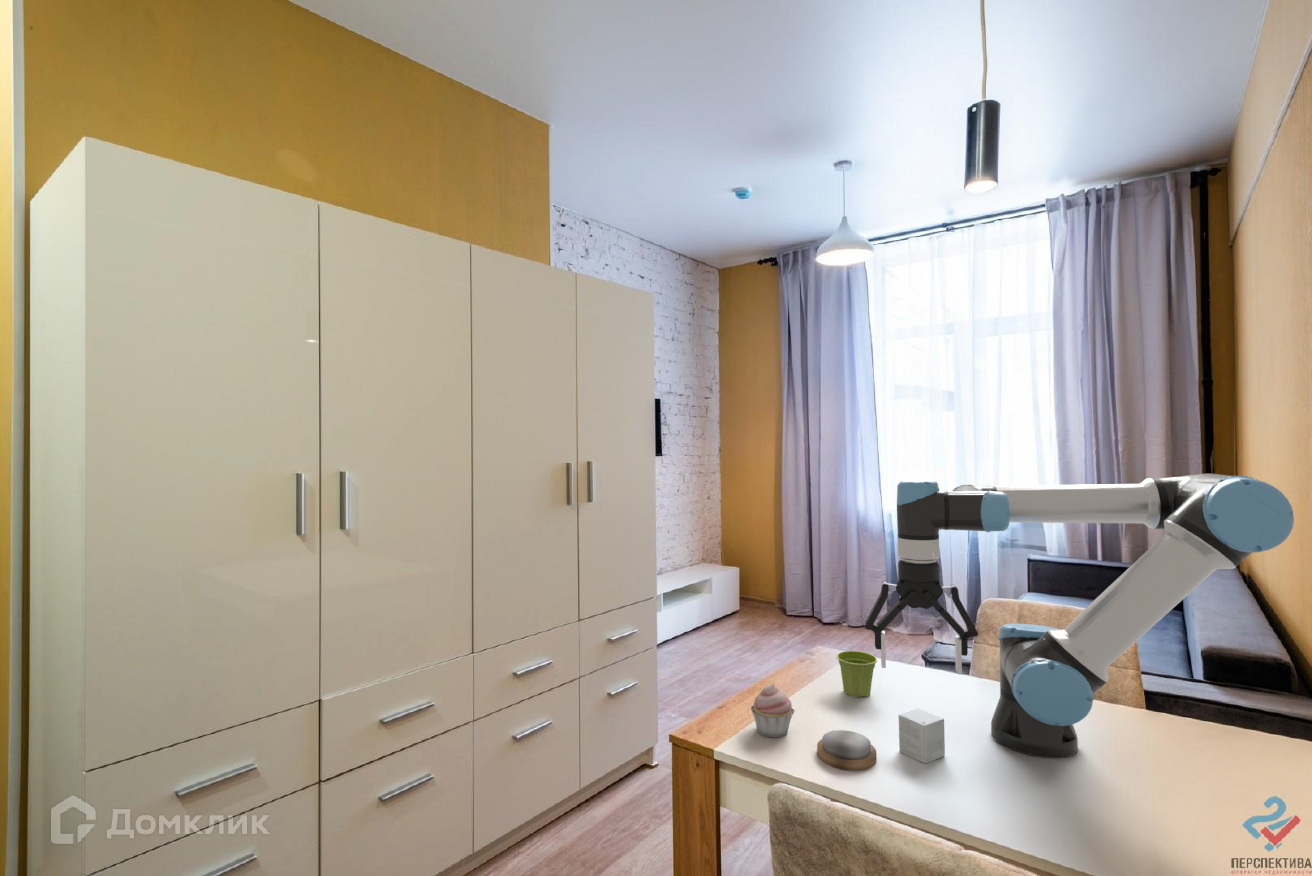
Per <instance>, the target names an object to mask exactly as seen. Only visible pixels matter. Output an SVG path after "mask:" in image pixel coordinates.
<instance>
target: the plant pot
mask: <svg viewBox="0 0 1312 876" xmlns="http://www.w3.org/2000/svg"><path fill="white" fill-rule="evenodd" d="M836 660H838V663H839V667H840V673H841V679H842V688H843V692H844V693H845V695H848V696H849V697H854V698H861V697H865V698H866V697H870V695H871V691H872V683H873V674H874V669H875V667H876V663H877V662H878V657H876V656H875V655H874V654H871V653H868V652H865V651H861V650H845V651H840V652H838V653H837V654H836Z"/></svg>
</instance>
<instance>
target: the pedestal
mask: <svg viewBox="0 0 1312 876" xmlns="http://www.w3.org/2000/svg"><path fill="white" fill-rule="evenodd" d="M816 750H817V751H816V753H817V758H818V759H819V760H820V761H821V762H822V763H824V764H825V765H827V766H829V767H832V768H835V769H837V770H838V769H839V770H844V771H853V772H857V771H858V772H859V771H865V770H869V769H871V768H873V767H874V766H876V763H877V749H876V748H875V746H873V744H872V743H871V740H870V739H869V738H868V737H867V736H865V735H863V734H861V733H858V732H855V731H852V730H846V729H845V730H843V729H840V730H831V731H827V732H826V733H824V734H823V736H822V737H821V739H820V740H819V741H818V742H817V744H816Z"/></svg>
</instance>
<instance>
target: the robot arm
mask: <svg viewBox="0 0 1312 876" xmlns="http://www.w3.org/2000/svg"><path fill="white" fill-rule="evenodd" d="M896 488H897V489H896V519H897V520H896V521H897V522H896V523H897V557H899V560H897V577H898V578H897V579H898V580H897V583H896V584H895V583H894V584H893V583H888V582H887V581H885V580H884V581H882V582H881V588H880V593H879V595H878V597H877V599H876V600H875V602H874V604H873V607H872V609H871V610H870V612H869V614H868V616H867V618H866V620H865V622H864V626H865V630H867V631H871V632H872V633H874V648H875V650H880V659H881V660H880V661H881V662H880V663H881V664H880V665H881V669H887V667H886V666H887V665H886V663H887V662H886V661H887V660H886V659H887V658H886V631H885V629H886V627H887V626H888V625H889V624H890V623H892V621H893V620H894V619H895V618H896V617H897V616H898V615H899V614H900V613H901V612H902V611H903V610H904V609H905V608H906V607H907V606H908V607H910V608H911V609H918V608H921V609H924V610H929V609H930V608H932V607H933V608H934V609H935V611H937V612H938V614H940V615H941V617H942V618H943V620H944V621H946V622H947V623H948V625H949V626H950V627H951V628H952V629H953V630H954V631H955V632H956V634H957V635H954V656H955V657H954V659H955V660H954V661H955V666H954V667H955V671H956V673H957V675H962V674H963V667H962V665H963V661H962V657H963V656H965V657H966V656H967V655H968V652H969V651H968V649H969V648H968V647H969V645H968V641H969V639H970V638H976V637H978V635H979V631H978V630H977V628H976V627H975V625H974V623H973V621H972V620H971V617H970V615H969V614H968V612H967V610H966V608H965V606H964V605H963V603H962V601H961V599H960V594H959V593H960V592H959V589H958V588H957V585H955V584H950V585H946V586H945V585H944V586H942V585H941V574H940V573H941V569H940V568H941V567H940V566H941V565H940V562H939V561H938V560H939V559H940V530H944V531H949V530H952V531H969V532H970V531H972V532H973V531H976V532H986V533H990V532H1005V531H1006V530H1008V528H1009V527H1010V523H1034V524H1035V523H1036V524H1037V523H1040V524H1041V523H1045V524H1046V523H1048V524H1049V523H1051V524H1053V523H1055V524H1058V523H1059V524H1060V523H1061V524H1064V523H1065V524H1143V525H1145V526H1146V527H1147V528H1149V529H1152V530H1161V529H1162V530H1164V535H1162V536H1161V538H1159V539H1158V540H1157V541H1156V542H1155V543H1154V544H1153V545H1151V546H1150V548H1148V549H1147V550H1145V552H1144V553H1143V554H1142V555H1141V556H1140V557H1139V558H1138V559H1137V560H1136V561H1135V562H1134V563H1133V564H1131V566H1129V567H1128V568H1127V569H1126V570H1125V571H1124V572H1123V573H1122V574H1121V575H1120V576H1118V577H1117V578H1116V579H1115V580H1114V581H1113V582H1112V583H1111V584H1110V585H1109V586H1108V587H1107V588H1106V589H1104V591H1103V592H1101V594H1099V595H1098V596H1097V597H1096V598H1095V599H1094V600H1093V601H1092V602H1091V603H1089V605H1088V606H1086V608H1085V609H1083V611H1081V612H1080V613H1079V614H1078V615H1077V616H1076V617H1075V618H1073V620H1072V621H1071V622H1069V623H1068V624H1067V625H1066V626H1065V627H1064V628H1062V629H1059V628H1056V627H1052V626H1047V625H1046V626H1045V625H1039V624H1030V623H1029V624H1028V623H1006V624H1002V625H1001V626H1000V628H999V636H998V641H999V689H1000V690H999V691H1000V695H999V699H998V702H997V704H996V707H995V710H994V712H993V715H992V718H991V722H990V729H991V730H990V731H991V732H990V733H991V736H992V737H993V739H994V740H996V741H997V742H998V743H1000V744H1001V745H1003V746H1005V747H1006V748H1009V749H1011V750H1012V751H1013V750H1014V751H1017V752H1020V753H1023V754H1026V755H1031V756H1035V757H1040V758H1053V759H1055V758H1058V759H1059V758H1066V757H1070V756H1073V755H1075V754H1076V753H1077V752H1078V750H1079V742H1078V739H1079V738H1078V735H1077V731H1076V729H1075V726H1074V724H1077V723H1079V722H1081V721H1082V720H1083V719H1085V718H1086V717H1088V715H1089V714H1090V712H1091V710H1092V707H1093V703H1094V695H1095V694H1096V693H1097V692H1098V691H1099V690H1100V689H1101V688H1103V686H1105V685H1106V684H1107V683H1108V682H1109V675H1108V667H1110V665H1112V664H1113V663H1114V662H1115V661H1116V660H1117V659H1118V658H1119V657H1121V656H1122V655H1123V654H1124V653H1125V652H1127V650H1128V649H1130V648H1131V647H1132V646H1133V645H1134V644H1135V643H1136V642H1137V641H1139V640H1140V639H1141V638H1142V637H1143V636H1144V635H1145V634H1147V632H1149V631H1150V630H1151V628H1153V627H1154V626H1156V624H1157V623H1159V621H1160V620H1162V619H1163V618H1164V617H1165V616H1166V615H1167V614H1169V613H1170V612H1171V611H1172V610H1173V609H1174V608H1175V607H1176V606H1178V604H1180V603H1181V602H1182V601H1183V600H1184V599H1185V598H1186V597H1188V595H1190V594H1191V592H1193V591H1194V590H1195V589H1197V588H1198V586H1199V585H1201V584H1202V583H1203V582H1204V581H1205V580H1206V579H1207V578H1208V577H1209V576H1211V575H1212V574H1213V573H1214V572H1215V571H1216V570H1217V571H1218V570H1233V569H1235V568H1237V567H1238V566H1239V565H1240V564H1241V563H1242V562H1243V561H1244V560H1246V559H1247V558H1248V557H1249V556H1250V555H1251V554H1253V553H1262V552H1265V551H1269V550H1272V549H1275V548H1276V547H1278V546H1279V545H1281V544H1283V543H1284V542H1285V541H1286V540H1287V539H1288V538H1289V536H1290V534H1291V533H1292V530H1293V527H1294V522H1295V516H1294V510H1293V506H1292V505H1291V502H1290V501H1289V499H1288V497H1286V495H1285V494H1284V493H1283V492H1282V490H1281V491H1280V489H1278V488H1277V487H1275V486H1274V485H1272V484H1271V483H1267V482H1266V481H1263V480H1260V479H1257V478H1254V477H1251V476H1247V475H1246V476H1245V475H1228V474H1227V475H1226V474H1220V473H1197V474H1189V475H1181V476H1172V477H1171V476H1170V477H1152V478H1151V477H1148V478H1144V480H1142V481H1141V482H1140V483H1113V484H1112V483H1107V484H1105V483H1101V484H1100V483H1099V484H1098V483H1097V484H1095V483H1094V484H1093V483H1091V484H1090V483H1089V484H1087V483H1086V484H1032V485H1031V484H1028V485H1027V484H1026V485H1025V484H1023V485H1021V484H1020V485H1017V484H1016V485H1015V484H1014V485H972V484H961V485H958V486H956V487H955V488H953V489H952V490H944V489H943V490H941V489H940V487H939V484H938V482H937V481H936V480H932V479H931V480H930V479H906V480H905V479H904V480H901V481H900V482H899V483H897V487H896ZM894 591H895V592H896V593H897V594H898V595H899V598H898V599H897V600H896V602H895V603H894V604H893V605H892V606H891V608H889V610H888V611H887V612H886V613H885V614H884V615H883V616H882V617H881V618H880V620H878V621H877V623H875V622H876V620H877V618H878V617H879V615H880V613H881V610H882V609H883V607H884V605H885V603H886V602H887V600H888V599H887V598H888V596H891V595H892V594H893V593H894ZM943 594H945V595H946V596H947V598H949V599H951V600H952V602H953V604H954V606H955V607H956V610H957V611H958V613H959V615H960V617H961V618H962V620H963V622H964V624H965V625H966V628H965V629H964V628H963V627H962V626H961V625H960V624H959V623H958V621H957V620H956V619H955V618H954V617H953V615H951V614H950V612H949V611H948V610H947V609H946V608H945V607H944V605H943V604H942V603H941V602H940V601H939V599H940V598H941V596H942V595H943Z"/></svg>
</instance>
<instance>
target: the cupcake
mask: <svg viewBox="0 0 1312 876" xmlns="http://www.w3.org/2000/svg"><path fill="white" fill-rule="evenodd" d="M750 709H751V713H752V716H753V717H754V721H755V726H756V729H757V730H756V731H757V732H758V733H759V734H760V735H762V736H764V737H768V738H780V737H784V736H786V735H787V734H788V731H789V727H790V723H791V719H792V717H793V715H794V714H795V711H796V709H794V708H793V705H792V701H791V700H790V698H789V697H788V696H787V694H786V693H785V692H784V690H781V689H780V688H778V687H776V686H775V684H774V683H770V684H768V685H766V686H764V687H763V689H762V690H761V692H758V694H757V695H756V696H755V699H754V702H753V703H752V705H751V706H750Z"/></svg>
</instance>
